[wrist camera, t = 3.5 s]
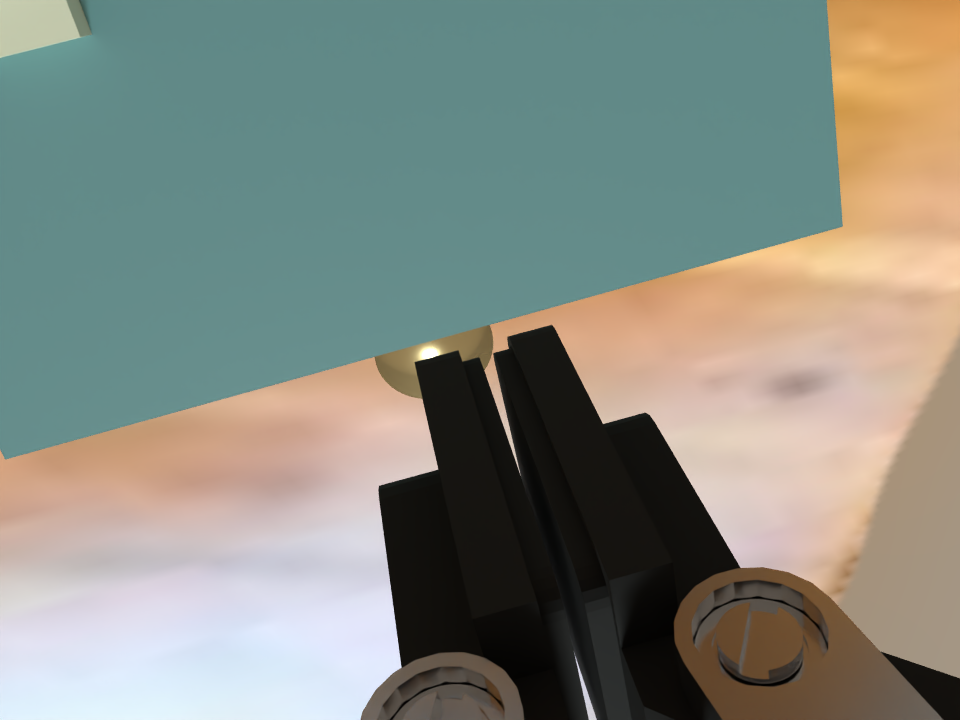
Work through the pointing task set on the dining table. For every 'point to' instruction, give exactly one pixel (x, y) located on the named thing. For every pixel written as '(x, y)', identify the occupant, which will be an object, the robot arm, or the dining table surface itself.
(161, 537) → the dining table surface
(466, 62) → the plate
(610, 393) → the dining table surface
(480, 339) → the base
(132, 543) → the dining table surface
